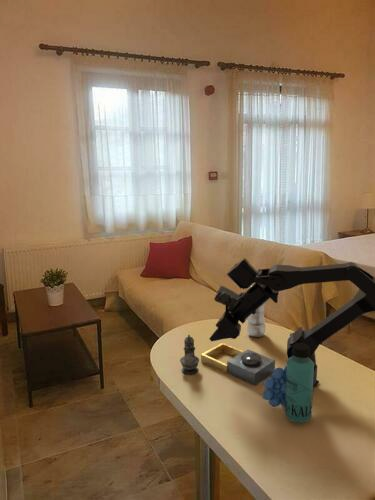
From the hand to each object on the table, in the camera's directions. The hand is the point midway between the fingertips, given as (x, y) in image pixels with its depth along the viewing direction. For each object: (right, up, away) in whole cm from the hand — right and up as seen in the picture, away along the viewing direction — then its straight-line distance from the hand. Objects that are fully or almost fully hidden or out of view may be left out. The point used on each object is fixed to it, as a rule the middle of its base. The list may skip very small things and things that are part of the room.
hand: (213, 332), depth 114 cm
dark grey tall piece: (-7, -13, +5) cm, 15 cm away
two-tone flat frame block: (+8, -12, +6) cm, 15 cm away
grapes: (+17, -16, -12) cm, 27 cm away
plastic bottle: (+17, -7, +27) cm, 33 cm away
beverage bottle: (+19, -18, -18) cm, 32 cm away
